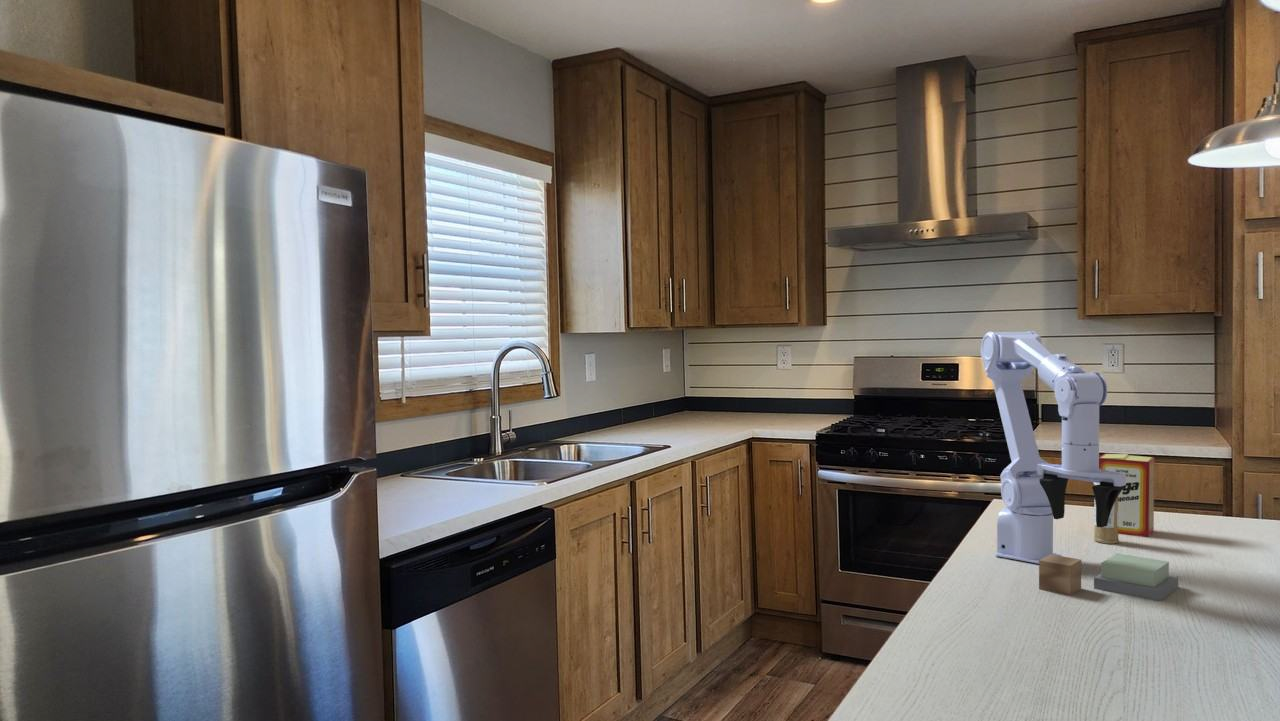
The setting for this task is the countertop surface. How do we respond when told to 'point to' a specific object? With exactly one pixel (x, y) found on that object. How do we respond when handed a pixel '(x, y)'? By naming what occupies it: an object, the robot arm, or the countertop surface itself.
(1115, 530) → the sprinkles bottle
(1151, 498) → the baking soda box
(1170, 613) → the countertop surface
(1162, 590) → the tower base
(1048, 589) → the walnut block
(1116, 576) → the tower top
